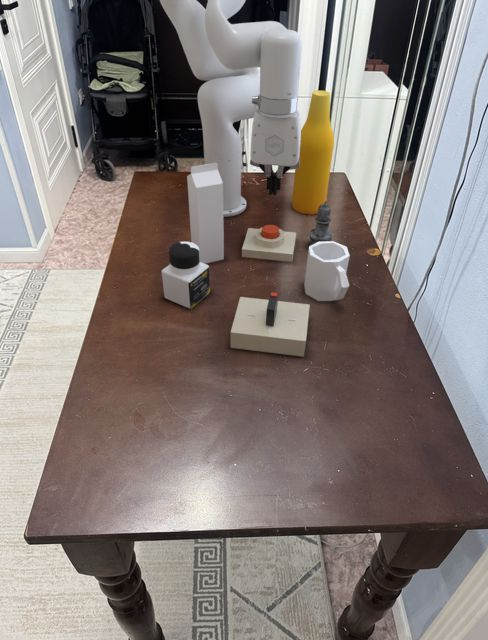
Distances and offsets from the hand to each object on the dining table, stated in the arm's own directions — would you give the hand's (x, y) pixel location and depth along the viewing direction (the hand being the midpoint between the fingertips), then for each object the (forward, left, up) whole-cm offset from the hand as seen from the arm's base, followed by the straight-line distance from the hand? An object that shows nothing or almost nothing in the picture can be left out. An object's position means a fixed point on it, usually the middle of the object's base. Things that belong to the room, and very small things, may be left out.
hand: (273, 192), depth 110 cm
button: (0, 0, -11) cm, 11 cm away
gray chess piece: (+12, +3, -15) cm, 19 cm away
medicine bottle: (-15, -22, -15) cm, 30 cm away
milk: (-14, -6, -15) cm, 21 cm away
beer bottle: (+8, +23, -15) cm, 29 cm away
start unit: (0, 0, -15) cm, 15 cm away
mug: (+15, -16, -15) cm, 26 cm away
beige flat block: (+4, -31, -15) cm, 34 cm away
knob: (+4, -31, -11) cm, 33 cm away
